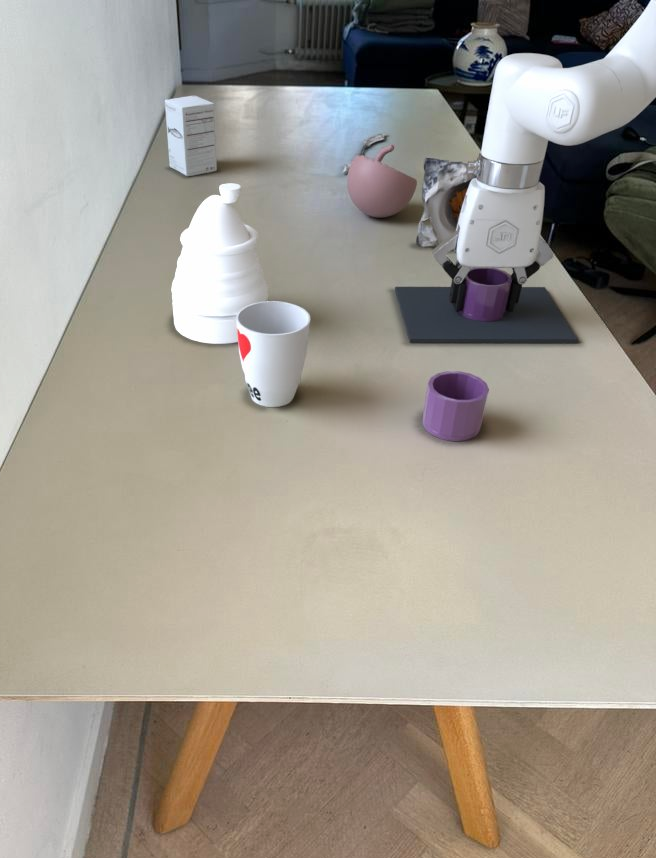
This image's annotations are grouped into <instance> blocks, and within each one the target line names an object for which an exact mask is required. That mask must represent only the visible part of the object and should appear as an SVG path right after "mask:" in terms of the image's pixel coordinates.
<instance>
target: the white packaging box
mask: <svg viewBox="0 0 656 858" xmlns="http://www.w3.org/2000/svg"><path fill="white" fill-rule="evenodd" d="M164 108H165V122H166V132H167V133H166V134H167V148H168V162H169V168H171V169H173V170H175V171H177V172H178V173H180V174H182V175H184V176H185V177H192V176H198V175H202V174H203V175H204V174H208V173H212V172H217V170H218V165H217V164H218V163H217V139H216V136H217V135H216V113H215V109H216V108H215V102H212V101H209V100H207V99H204V98H202V97H200V96H197V95H188V96H180V97H175V98H168V99H164Z"/></svg>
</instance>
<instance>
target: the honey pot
mask: <svg viewBox="0 0 656 858" xmlns="http://www.w3.org/2000/svg"><path fill="white" fill-rule="evenodd" d="M218 187H219V193H220V195H218V194H212V195H209V196H208V197H206V198H205V199H204V200H203V201H202V202H201V204H200V205H199V206H198V208H197V209H196V211H195V213H194V215H193V217H192V219H191V222H190V223H189V227H186V229H184V230H183V231H182V233H181V234H180V238H179V240H180V243H181V245H182V248H181V253H180V256H178V258H177V262H176V266H177V267H176V268H175V274H174V278H173V279H172V284H171V288H170V289H171V290H170V291H171V294H172V295H171V298H172V302H171V303H172V304H171V305H172V313H173V314H172V315H173V325H174V327H175V330H176V331H177V332H178V333H179V334H180V335H182V336H183V337H185V338H187V339H188V340H192V341H194V342H195V341H196V342H199V343H205V344H212V345H213V344H214V345H215V344H216V345H218V344H219V345H226V344H234V343H238V333H237V321H236V316H237V313H238V312H239V311H240V310H241V309H242V308H244V307H246V306H248V305H251V304H254V303H258V302H265V301H269V285H268V280H267V279H266V277H265V275H264V270H263V269H264V268H263V267H262V266H261V258H260V257H259V256H258V253H257V251H256V248H255V247H256V246H257V245H258V243H259V240H260V235H259V233H258V232H257V230H256V229H255V228H254V227H252V226H250V225H248V224H245V223H244V221H243V219H242V217H241V215H240V214H239V212H238V211H237V209H236V208H235V207H234V205H233V204H234V203H235V202H237V200H238V199H239V197H240V194H241V187H242V186H241V185H240V184H238V183H234V182H229V183H228V182H227V183H222V184H220V185H218Z"/></svg>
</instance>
